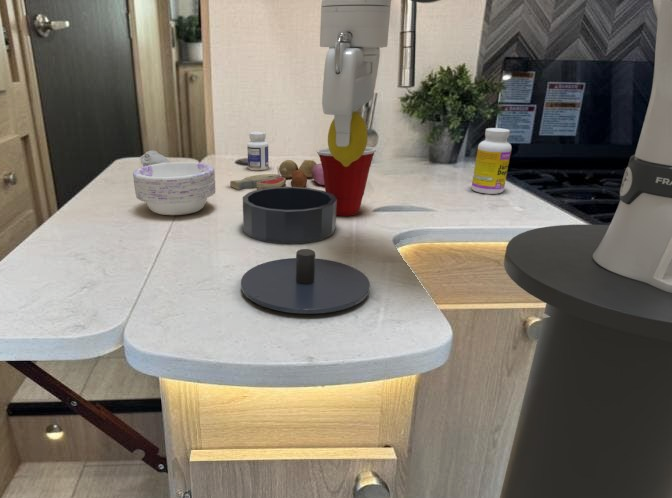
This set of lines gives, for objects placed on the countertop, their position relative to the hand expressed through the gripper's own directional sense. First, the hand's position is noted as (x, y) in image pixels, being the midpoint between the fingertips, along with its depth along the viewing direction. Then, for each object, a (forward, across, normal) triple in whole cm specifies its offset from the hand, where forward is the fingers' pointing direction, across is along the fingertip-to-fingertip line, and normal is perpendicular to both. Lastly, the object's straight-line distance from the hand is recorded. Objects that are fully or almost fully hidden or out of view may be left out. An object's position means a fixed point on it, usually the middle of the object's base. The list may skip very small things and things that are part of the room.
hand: (347, 141), depth 77 cm
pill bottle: (+17, +54, +32) cm, 65 cm away
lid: (+16, -15, +2) cm, 22 cm away
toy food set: (+17, +41, +19) cm, 48 cm away
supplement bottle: (+17, +47, -23) cm, 55 cm away
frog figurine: (+17, +34, +50) cm, 63 cm away
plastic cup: (+17, +22, +4) cm, 28 cm away
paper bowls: (+17, +14, +35) cm, 41 cm away
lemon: (+4, 0, 0) cm, 4 cm away
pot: (+17, +9, +11) cm, 22 cm away
